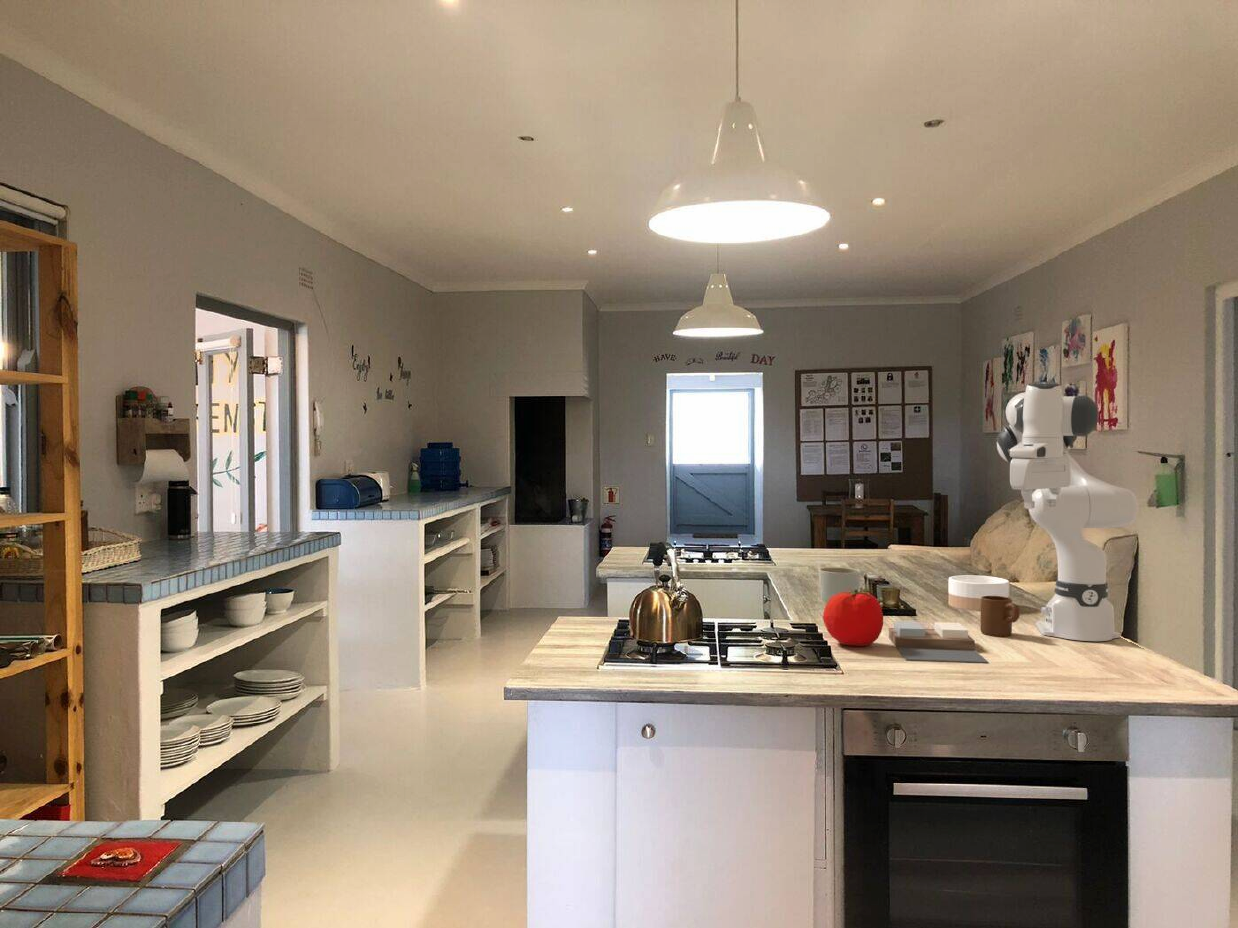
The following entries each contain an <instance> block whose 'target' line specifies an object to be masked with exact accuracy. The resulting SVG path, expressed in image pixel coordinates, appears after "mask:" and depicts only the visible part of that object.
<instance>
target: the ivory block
mask: <svg viewBox="0 0 1238 928" xmlns="http://www.w3.org/2000/svg"><path fill="white" fill-rule="evenodd" d="M933 623H934V625H933V626H934V628H933V629H934V630H935V631H936V632H937V633H938V634H939V635H940V636H941V637H942V638H965V639H968V635H969V630H968V629H967V628H966V627H965V626H964V625H962V624H961V623H960V622H945V621H944V622H939V621H938V622H937V621H934V622H933Z"/></svg>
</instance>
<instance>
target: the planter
mask: <svg viewBox="0 0 1238 928" xmlns="http://www.w3.org/2000/svg"><path fill="white" fill-rule="evenodd" d="M861 572H862V571H861V570H860V569H857V568H852V567H843V566H842V567H841V566H840V567H838V566H835V567H822V568H819V570H818V577H819V578H818V580H819V590H820V591H819V592H820V598H821V600H822V602H824V603H825V605H826V604H827V603H828V601H829V600H830V598H832V597H833V596H834V595H837V594H840V593H842V592H846V591H850V592H851V591H854V590H855V589H857V590H858V592H859V591H861V590H860V588H861V576H862V575H861V574H862V573H861Z"/></svg>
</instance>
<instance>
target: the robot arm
mask: <svg viewBox="0 0 1238 928" xmlns="http://www.w3.org/2000/svg"><path fill="white" fill-rule="evenodd" d="M1005 417H1006V420H1007V422H1008V424H1009V425H1007V426H1005V425H1002V426H1001V427H1002V430H1001V431H1000V432H999V433H998V435H997V437H996V449H997V452H998V454H999V456H1000V457H1001V458H1002V459H1003V460H1004V461H1006V462H1007V463H1008V464H1009V484H1010V486H1011V489H1012V490H1018V491H1019V490H1020V494H1021V496H1022V499H1023V502H1024V503H1023V505H1024V506H1023V507H1024V509H1027V510H1028V512H1029V515H1030V517H1031V518H1032V520H1033V521H1034V523H1036V524H1037V525H1039V526H1040V527H1041V528H1042V529H1044V530H1045V531H1046V532H1047V533H1048V535H1049V536H1050V538H1051V540H1052V542H1053V545H1054V547H1055V551H1056V556H1057V557H1056V558H1057V559H1056V561H1057V579H1056V580H1055V584H1054V595H1053V596H1052V597H1051V598H1050V600H1049V601H1048V603H1047V604H1046V605H1045V606H1041V607H1040V608H1041V609H1040V615H1041V616H1043V617H1044V619H1045V620H1036V622H1035V625H1036V627H1037V628H1038V631H1040V633H1041V635H1043V636H1049V637H1056V638H1060V639H1067V640H1072V641H1073V640H1074V641H1082V642H1083V641H1084V642H1108V641H1111V640H1113V639H1119V638H1121V633H1120V632H1118V631H1115V615H1114V606H1113V604H1112V603H1111V602H1109V600H1108V599H1107V598H1108V596H1109V585H1108V582H1107V555H1106V552H1105V551H1104V550H1103V548H1102V547H1100V546H1099V545H1097V544H1095V543H1094V542H1091V541H1089V540H1087V539H1085V537H1084V535H1083V529H1115V528H1116V529H1117V528H1121V527H1122V528H1123V527H1126V526H1130V525H1132V524H1133V522H1135V520H1136V519H1137V517H1138V514H1139V508H1140V506H1139V501H1138V498H1137V496H1136V495H1135V494H1134V492H1133V491H1132V490H1131V489H1129V488H1126V487H1121V486H1117V485H1113V484H1110V483H1108V482H1105V481H1103V480H1101V479H1099V478H1096V477H1094V476H1092V475H1090V474H1088V473H1087V472H1086V471H1085V470H1084V469H1083V468H1082V467H1081V466H1080V464H1078V462H1077V461H1076V460H1075V459H1074V458H1073V457H1071V455H1070V454H1069V453H1068V451H1067V449H1068V448H1070V449H1073V448H1074V447H1075V446H1074V443H1075V442H1076V440H1077V438H1078V437H1081V438H1082V437H1083V438H1085V437H1088V436H1089V435H1090V434H1091V433H1092V432H1093V431H1095V430H1096V428H1097V425H1098V421H1099V408H1098V405H1097V403H1096V402H1095V400H1093V399H1092V398H1091V397H1090V396H1088V395H1087V394H1086V395H1076V396H1075V395H1074V396H1073V395H1072V396H1070V395H1069V396H1064V395H1063V388H1062V385H1061V384H1060V383H1057V382H1056V381H1055V382H1053V381H1034V382H1030V383H1028V384H1027V385H1026V387H1025V391H1024V392H1020V393H1018V394H1016V395H1014V396H1013V397H1011V398H1010V399H1009V401H1008V403H1007V405H1006V407H1005Z"/></svg>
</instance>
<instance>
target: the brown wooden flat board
mask: <svg viewBox="0 0 1238 928" xmlns="http://www.w3.org/2000/svg"><path fill="white" fill-rule="evenodd" d="M888 639H889V640H890V641H891V642H892V644H893V645H894V647H895V648H896V649H897V647H907V648H938V649H969V650H975V651H976V649H975V648H976V647H975V639H974V638H973V637H971V636H970V635H969V634H968V639H965V638H942V637H941V636H940V635H939V634H938V633H937V632H936V631H935V630H934V628H925V637H900V636H899V635H898V634H897V632H896V631H895V630H894V627H888Z"/></svg>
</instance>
